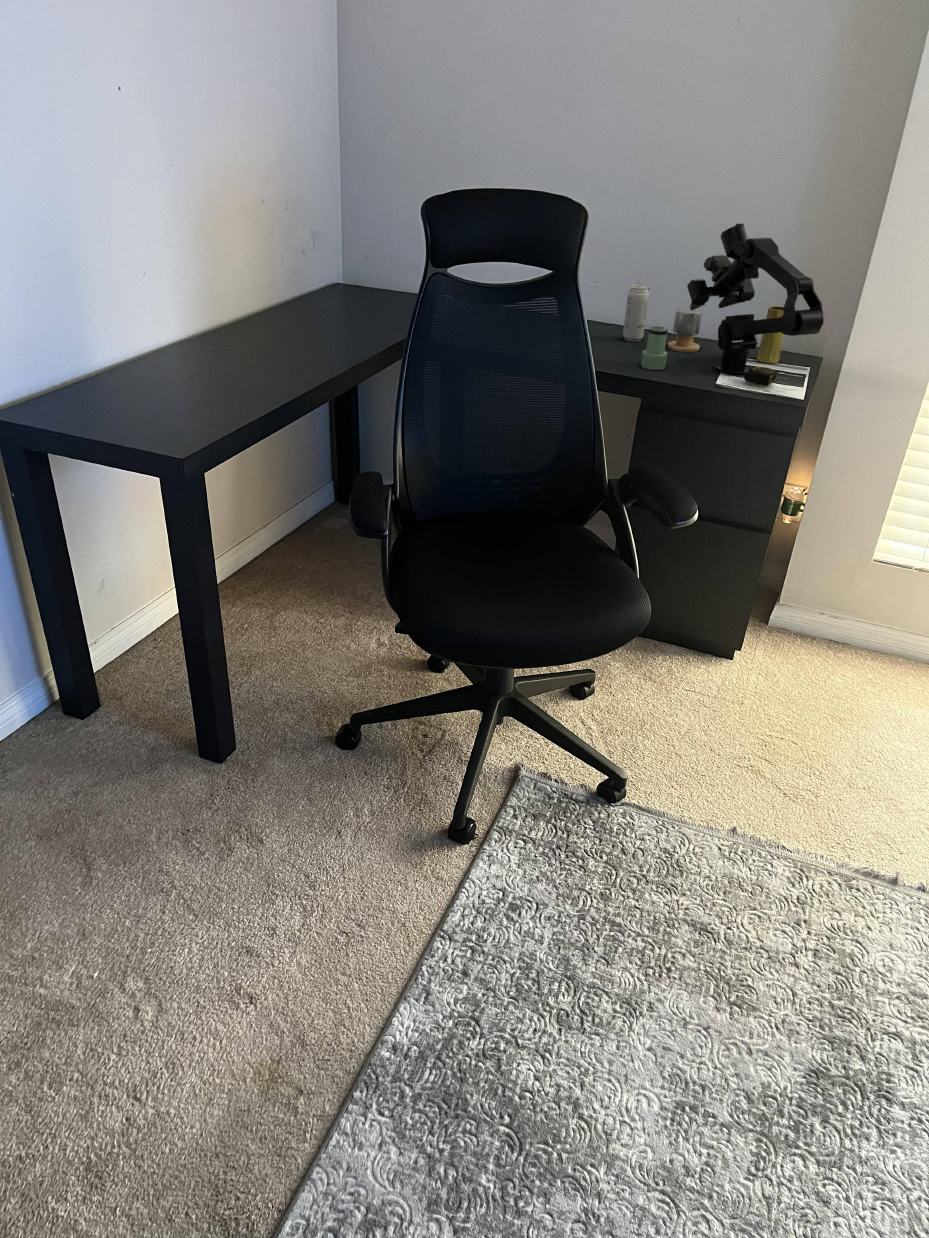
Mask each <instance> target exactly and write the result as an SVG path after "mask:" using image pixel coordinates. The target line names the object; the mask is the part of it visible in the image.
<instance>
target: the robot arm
mask: <svg viewBox="0 0 929 1238" xmlns="http://www.w3.org/2000/svg"><path fill="white" fill-rule="evenodd" d="M720 240H721V244H722V246H723V249H724V253H725V255H723V254H721V255H712V256H708V257H707V258H706V259H705V261H704V262H703V268H704V269H705V271H706V272H710V273H711V274H712V276H711V277H710V278H711V282H712V283H713V286H708V285H707V281H706V279H703V278H698V279H697V278H696V279H691V280H690V281H689V282H688V283H687V285H686V288H687V290H688V291H687V292H688V295H689V297H690V300H691V301H690V305H689V308H690V309H691V310H694V309H699V308H701V307H703V306H705V305H706V303H708V302H709V300H710V297H711V298H713V297H718V298H719V299H720V298H722V299H721V300H720V301H719V303H718V309H723V308H727V307H730V306H734V305H738V304H741V303H746V302H750V301H751V300H753V298H754V297H755V295H756V291H755V287H754V285H753V282H752V279H758V278H759V276H760V273H759V269H761V270H763V271H764V272H766V273H767V274H768V275H769V276H770V277H771V278H772V279H773V280H775V281H776V282H777V283H778V284H779V285H781V286H782V288H784V289H785V290H786V296H787V297H786V298H785V299H786V300H785V302H784V305H783V307H784V308H783V313H784V315H783V316H782V317H778V318H769V319H766V318H762V319H755V313H748V314H734V315H725V318H723V319H722V320H721V321H720V324H719V326H718V327H717V345H718V346H717V347H718V348H719V349H720V350H721V351H722V356H721V361H720V366H715V369H716V370H717V371H719V372H721V373H723V374H724V375H725V374H726V375H728V376H737V375H745V373H746V372H747V371H748V370H747V369H746V366H747V365H746V364H747V360H748V356H749V350H756V349H757V345H758V338H757V336H758V335H763V334H769V333H779V332H781V333H783V336H785V335H786V336H791V337H794V336H795V337H796V336H808V335H816V334H818V333H820V331H821V329H822V327H823V325H824V322H825V321H824V319H825V318H824V310H823V303H822V301H821V299H820V297H819V296H818V293H816V291H815V285H814V280H813V278H811V277H809V276H807V275H805V274H804V273H803V272H802V271H800V270H799V269H798V268H797V267H796V266H794V265H793V264H792V263H791V262H790V261H789V260H787V259H786V258H785V257H783V256H782V255H781V254H780V250H779V249H780V248H779V246H778V245H777V243H776V242H775V241H774V240H773V239H772V238H771V237H752V238H751V237H750V238H748V236H747V232H746V228H745V224H744V223H736V224H735V225H734V226H731V227H729V228H727V229H725V230H723V231H722V232H721V233H720ZM730 259H732V260H733V261H732V262H731V261H730ZM799 296H802V297H803V299H804V301H805V303H806V304H807V306H808V307H809V309H796V303H797V300H798V297H799Z"/></svg>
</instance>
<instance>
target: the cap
mask: <svg viewBox="0 0 929 1238" xmlns="http://www.w3.org/2000/svg"><path fill="white" fill-rule="evenodd" d="M702 318H703V310H702V309H699V308H697V309H694V310H691V309H690V306H689V307H687V306H686V307H685V306H682V307H677V308H676V309H675V313H674V320H673V327H672V332H673V333H675V334H676V335H677V334H681V335H694V336H696V335H699V334H700V329H701V323H702Z"/></svg>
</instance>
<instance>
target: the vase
mask: <svg viewBox="0 0 929 1238" xmlns="http://www.w3.org/2000/svg"><path fill="white" fill-rule="evenodd" d="M783 308H784V306H782V305H770V306H768V307H767V313H766V318H765V319H769V318H778V317H782V316H783V315H784V313H783ZM783 336H784V334H783V333H781V332H779V333H769V334H761V339H760V343H759V347H758V351H757V352H758V353H757V357H756V361H757V362H759V363H763V364H777V363H779V362H780V356H781V352H782V351H781V350H782V345H783V343H782V342H783Z"/></svg>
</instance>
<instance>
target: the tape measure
mask: <svg viewBox="0 0 929 1238" xmlns="http://www.w3.org/2000/svg"><path fill="white" fill-rule="evenodd" d="M743 375H744V376H743V379H744V381H745V382H746V383H750V384H752V385H754V386H763V387H769V386H770V385H772V384H773V383H774V381H775V380H776V378H777V374H776V373H775V370H774V369H773V368H770V367H766V366H751V367H749V369H748V370H747V372H746V373H745V374H743Z"/></svg>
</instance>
